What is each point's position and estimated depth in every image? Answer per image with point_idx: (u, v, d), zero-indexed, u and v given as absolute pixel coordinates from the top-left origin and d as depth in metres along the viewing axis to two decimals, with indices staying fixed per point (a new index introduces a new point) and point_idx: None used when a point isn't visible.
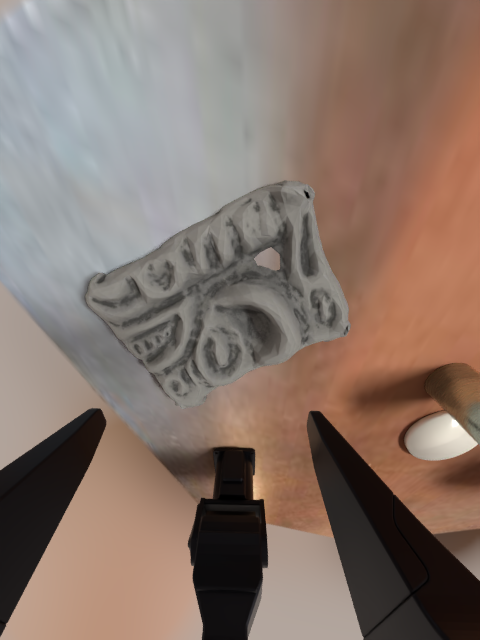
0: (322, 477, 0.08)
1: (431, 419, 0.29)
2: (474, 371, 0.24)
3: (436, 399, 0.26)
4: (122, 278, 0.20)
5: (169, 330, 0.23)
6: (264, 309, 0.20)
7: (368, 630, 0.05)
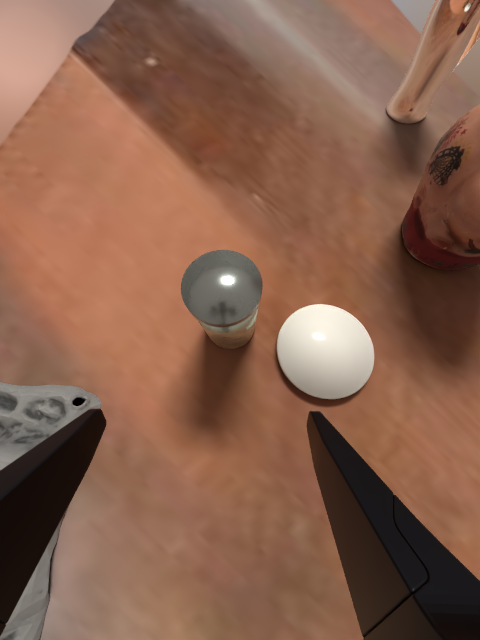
0: (322, 477, 0.08)
1: (278, 355, 0.23)
2: None
3: (226, 345, 0.22)
4: None
5: None
6: None
7: (368, 631, 0.05)
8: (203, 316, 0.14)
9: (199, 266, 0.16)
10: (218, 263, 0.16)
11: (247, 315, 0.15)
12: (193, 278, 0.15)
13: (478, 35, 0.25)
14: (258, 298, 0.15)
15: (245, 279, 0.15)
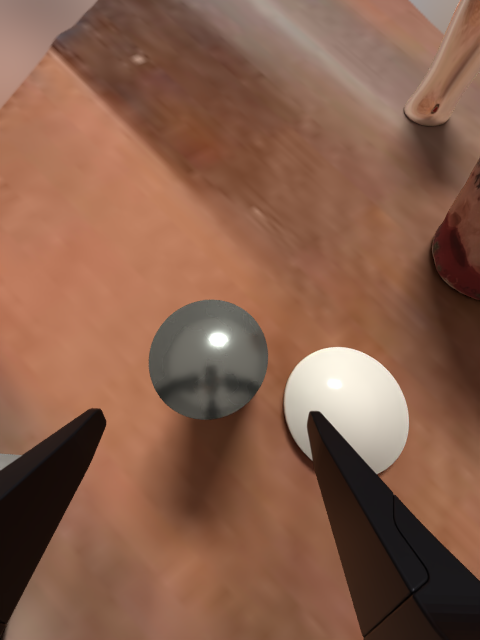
0: (322, 477, 0.08)
1: (286, 415, 0.18)
2: None
3: None
4: None
5: None
6: None
7: (368, 631, 0.05)
8: (180, 407, 0.10)
9: (176, 324, 0.11)
10: (204, 320, 0.11)
11: None
12: (167, 344, 0.11)
13: None
14: (262, 377, 0.10)
15: (243, 345, 0.10)
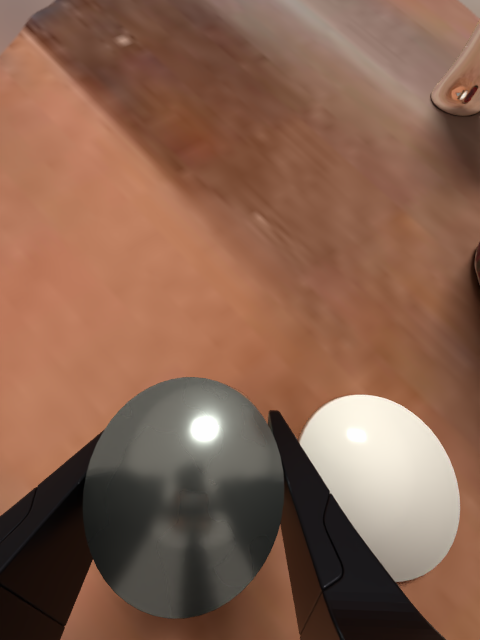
0: None
1: None
2: None
3: None
4: None
5: None
6: None
7: (302, 629, 0.06)
8: (131, 589, 0.05)
9: (133, 422, 0.07)
10: (179, 415, 0.07)
11: (247, 577, 0.06)
12: (117, 458, 0.06)
13: None
14: (275, 528, 0.06)
15: (242, 464, 0.06)
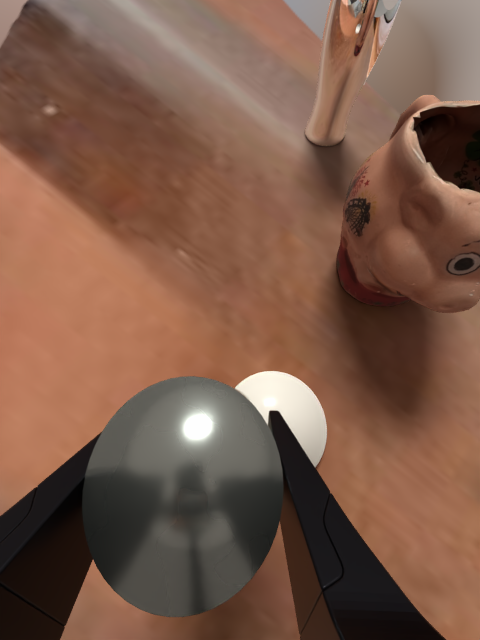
0: None
1: None
2: None
3: None
4: None
5: None
6: None
7: (302, 629, 0.06)
8: (131, 588, 0.05)
9: (132, 421, 0.07)
10: (178, 414, 0.07)
11: (246, 576, 0.06)
12: (116, 457, 0.06)
13: (373, 59, 0.24)
14: (274, 527, 0.06)
15: (241, 463, 0.06)
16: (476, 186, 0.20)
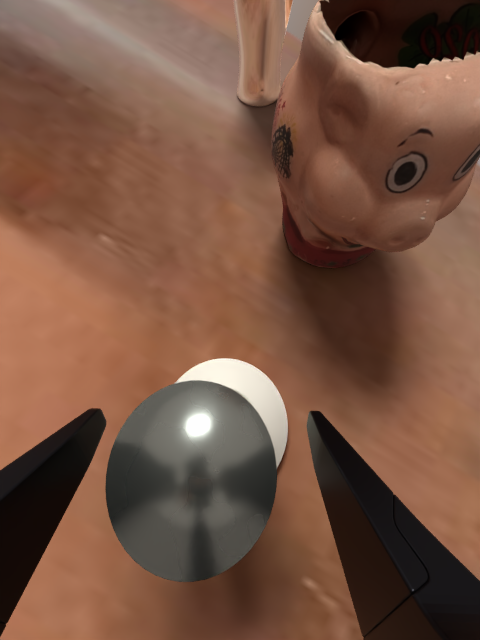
0: (322, 477, 0.08)
1: None
2: None
3: None
4: None
5: None
6: None
7: (368, 631, 0.05)
8: (148, 558, 0.07)
9: (147, 419, 0.08)
10: (187, 412, 0.08)
11: None
12: (134, 450, 0.07)
13: None
14: (269, 508, 0.07)
15: (241, 455, 0.07)
16: None
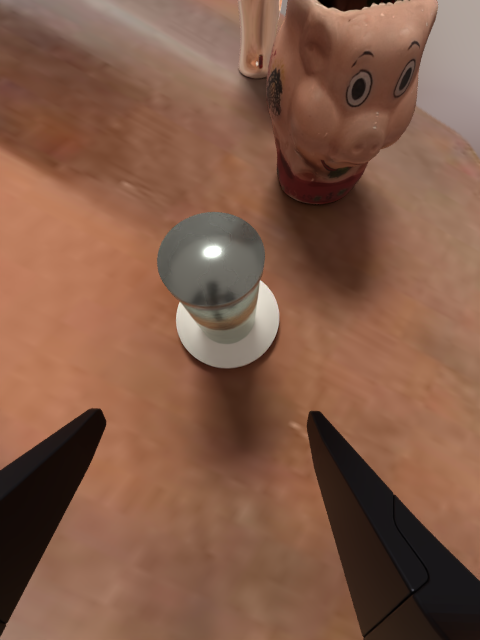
0: (322, 477, 0.08)
1: (180, 338, 0.21)
2: None
3: (220, 339, 0.18)
4: None
5: None
6: None
7: (368, 631, 0.05)
8: (186, 295, 0.11)
9: (181, 232, 0.12)
10: (207, 228, 0.12)
11: (244, 294, 0.11)
12: (174, 247, 0.12)
13: None
14: (259, 272, 0.11)
15: (242, 248, 0.12)
16: None
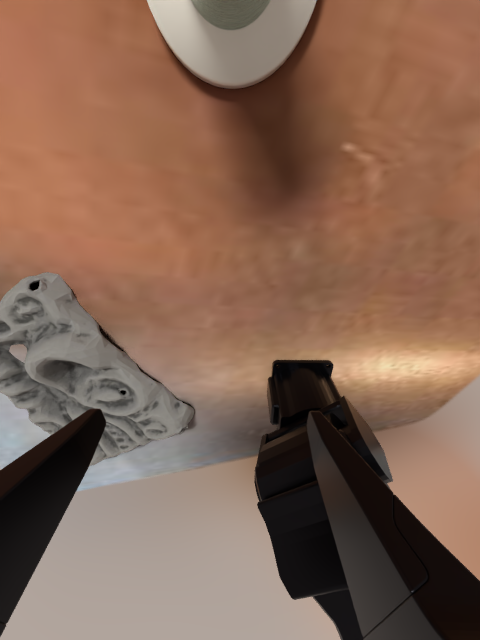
0: (322, 477, 0.08)
1: (169, 44, 0.13)
2: None
3: (236, 1, 0.11)
4: None
5: None
6: (36, 371, 0.22)
7: (369, 631, 0.05)
8: None
9: None
10: None
11: None
12: None
13: None
14: None
15: None
16: None
